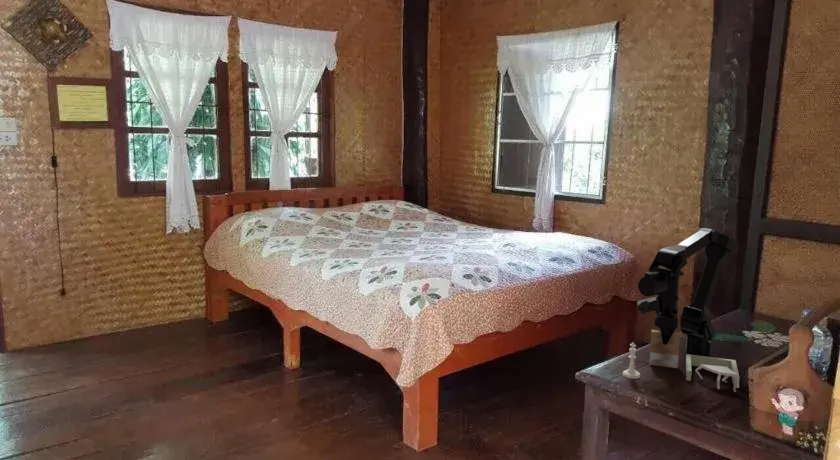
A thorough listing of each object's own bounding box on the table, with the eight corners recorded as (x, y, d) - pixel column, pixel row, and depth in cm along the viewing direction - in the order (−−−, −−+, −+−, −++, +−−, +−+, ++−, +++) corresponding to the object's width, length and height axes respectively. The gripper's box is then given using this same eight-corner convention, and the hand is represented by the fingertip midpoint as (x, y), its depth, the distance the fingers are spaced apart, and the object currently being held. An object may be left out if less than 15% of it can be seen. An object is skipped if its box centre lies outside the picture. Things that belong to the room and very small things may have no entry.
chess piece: (626, 370, 185) (627, 338, 184) (642, 374, 182) (644, 342, 180) (619, 375, 181) (621, 343, 180) (636, 380, 178) (638, 346, 177)
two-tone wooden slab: (649, 364, 190) (651, 331, 188) (649, 362, 192) (651, 329, 190) (677, 368, 187) (679, 334, 185) (677, 365, 189) (679, 332, 187)
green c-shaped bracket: (686, 380, 178) (686, 370, 178) (685, 363, 190) (686, 354, 190) (738, 387, 173) (739, 377, 172) (734, 369, 185) (735, 360, 185)
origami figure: (742, 384, 176) (743, 367, 175) (738, 394, 169) (739, 377, 168) (696, 374, 182) (697, 358, 181) (690, 384, 175) (692, 368, 174)
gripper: (641, 281, 197) (638, 329, 200) (637, 296, 180) (634, 348, 183) (679, 284, 193) (676, 333, 195) (679, 300, 176) (675, 353, 178)
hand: (665, 341), depth 188 cm, fingers open, 5 cm apart
